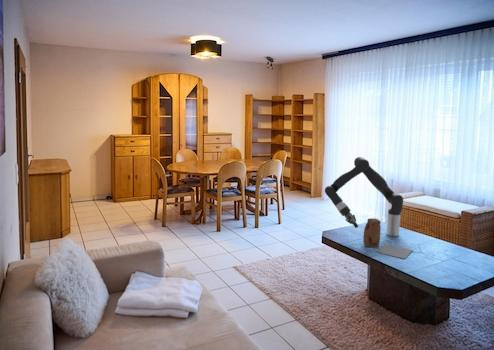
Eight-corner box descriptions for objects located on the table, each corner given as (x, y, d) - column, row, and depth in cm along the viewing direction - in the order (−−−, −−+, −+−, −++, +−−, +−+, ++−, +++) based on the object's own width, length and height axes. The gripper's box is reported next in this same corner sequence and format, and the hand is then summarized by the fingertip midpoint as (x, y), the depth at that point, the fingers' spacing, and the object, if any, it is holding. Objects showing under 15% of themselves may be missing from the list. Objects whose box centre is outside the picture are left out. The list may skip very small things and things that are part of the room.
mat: (384, 244, 299) (384, 243, 299) (412, 251, 287) (412, 250, 287) (375, 252, 283) (375, 251, 283) (404, 259, 271) (404, 258, 271)
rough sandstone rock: (374, 243, 301) (376, 217, 298) (380, 246, 294) (382, 220, 291) (361, 244, 298) (363, 218, 294) (367, 248, 291) (369, 221, 287)
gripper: (342, 207, 298) (357, 226, 293) (350, 204, 309) (364, 222, 303) (335, 212, 302) (350, 232, 297) (343, 209, 313) (357, 228, 308)
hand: (357, 227), depth 300 cm, fingers closed
